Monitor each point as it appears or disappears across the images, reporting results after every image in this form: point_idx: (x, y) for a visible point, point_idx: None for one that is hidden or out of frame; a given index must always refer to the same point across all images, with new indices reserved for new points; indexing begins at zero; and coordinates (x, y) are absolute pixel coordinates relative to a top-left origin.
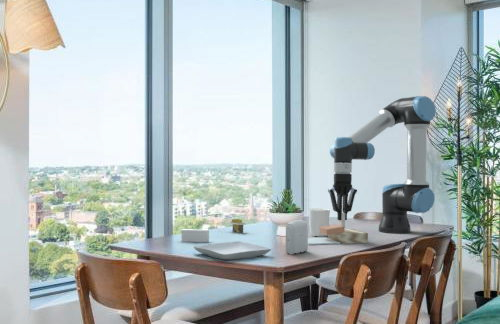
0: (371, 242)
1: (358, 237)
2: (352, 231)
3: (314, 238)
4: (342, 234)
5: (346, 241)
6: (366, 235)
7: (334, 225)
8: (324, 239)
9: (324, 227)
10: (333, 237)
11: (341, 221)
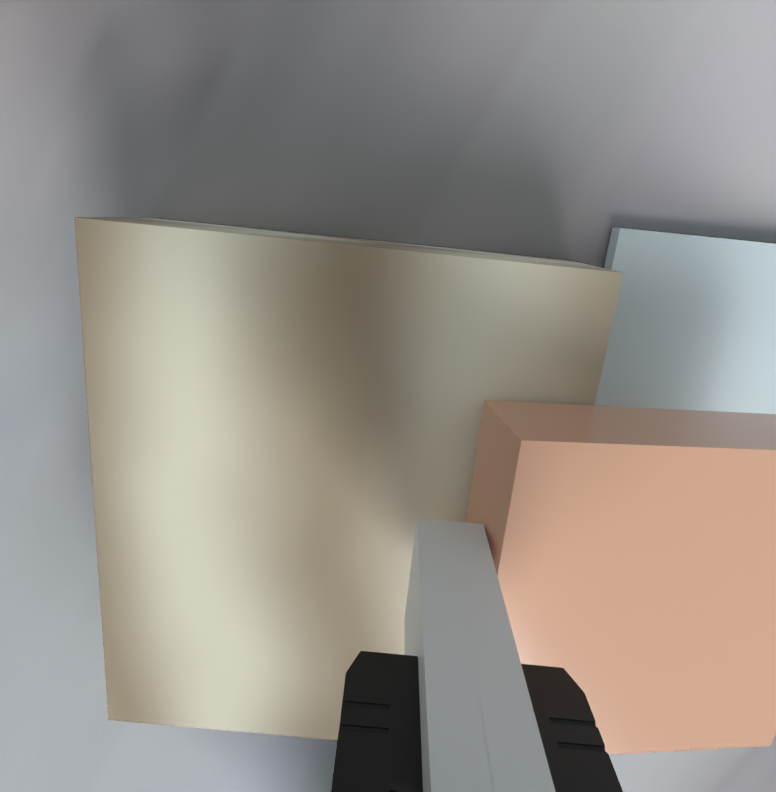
0: None
1: (289, 234)
2: (250, 507)
3: None
4: (604, 269)
5: (499, 253)
6: (124, 221)
7: None
8: None
9: (750, 664)
10: None
11: (502, 630)
